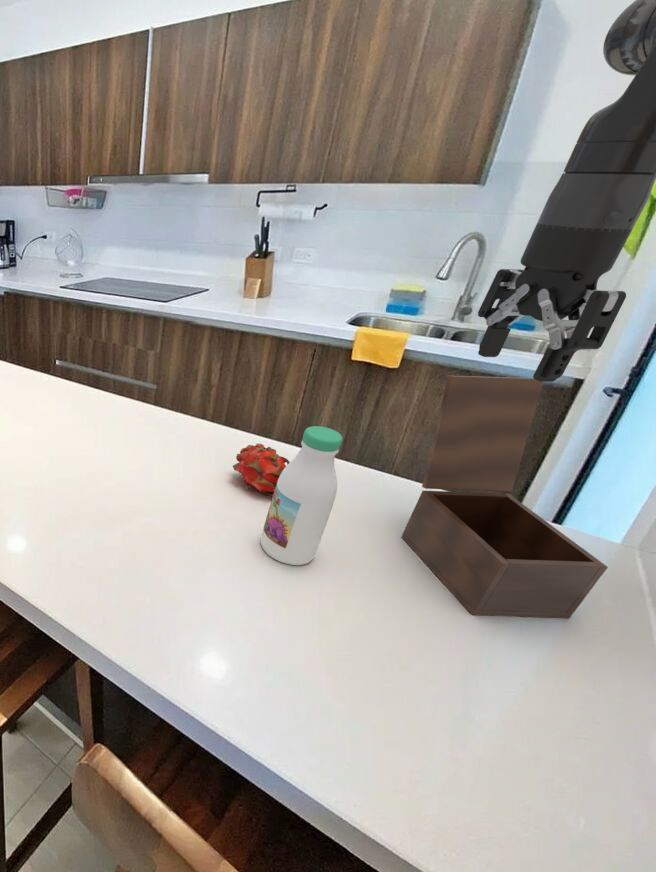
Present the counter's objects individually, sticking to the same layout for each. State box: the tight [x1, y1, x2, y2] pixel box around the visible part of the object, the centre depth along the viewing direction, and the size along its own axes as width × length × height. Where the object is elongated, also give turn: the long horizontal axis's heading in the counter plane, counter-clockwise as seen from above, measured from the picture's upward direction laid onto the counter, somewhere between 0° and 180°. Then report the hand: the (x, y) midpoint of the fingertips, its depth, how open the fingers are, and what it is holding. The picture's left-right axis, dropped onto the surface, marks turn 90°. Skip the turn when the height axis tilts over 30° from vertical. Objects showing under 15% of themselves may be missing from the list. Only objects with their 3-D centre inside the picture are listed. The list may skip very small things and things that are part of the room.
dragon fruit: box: [232, 443, 291, 497], centre depth 89 cm, size 8×8×12 cm
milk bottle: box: [260, 425, 343, 566], centre depth 71 cm, size 8×8×20 cm
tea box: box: [400, 490, 609, 619], centre depth 70 cm, size 16×13×9 cm
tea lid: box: [421, 375, 545, 492], centre depth 72 cm, size 17×13×1 cm
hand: (513, 367), depth 61 cm, fingers open, 8 cm apart
